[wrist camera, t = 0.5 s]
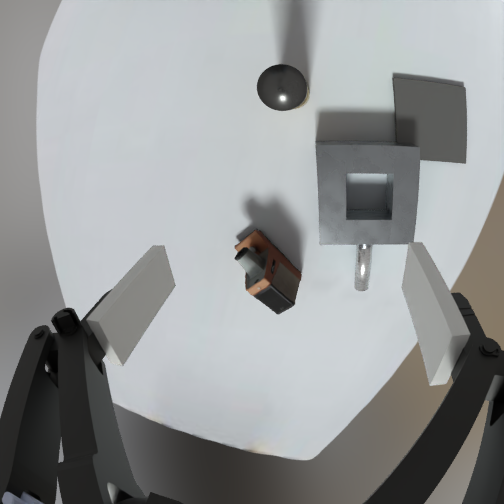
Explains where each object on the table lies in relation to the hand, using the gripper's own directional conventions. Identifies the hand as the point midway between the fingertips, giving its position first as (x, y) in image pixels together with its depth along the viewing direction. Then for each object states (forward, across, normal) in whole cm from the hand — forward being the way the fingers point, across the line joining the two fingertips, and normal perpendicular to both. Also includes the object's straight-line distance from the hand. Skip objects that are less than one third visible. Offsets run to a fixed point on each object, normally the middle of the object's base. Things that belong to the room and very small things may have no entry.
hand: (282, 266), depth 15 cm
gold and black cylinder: (+23, 0, +9) cm, 25 cm away
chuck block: (+23, +8, -7) cm, 25 cm away
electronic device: (+23, -5, -13) cm, 27 cm away
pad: (+23, +17, +6) cm, 29 cm away
